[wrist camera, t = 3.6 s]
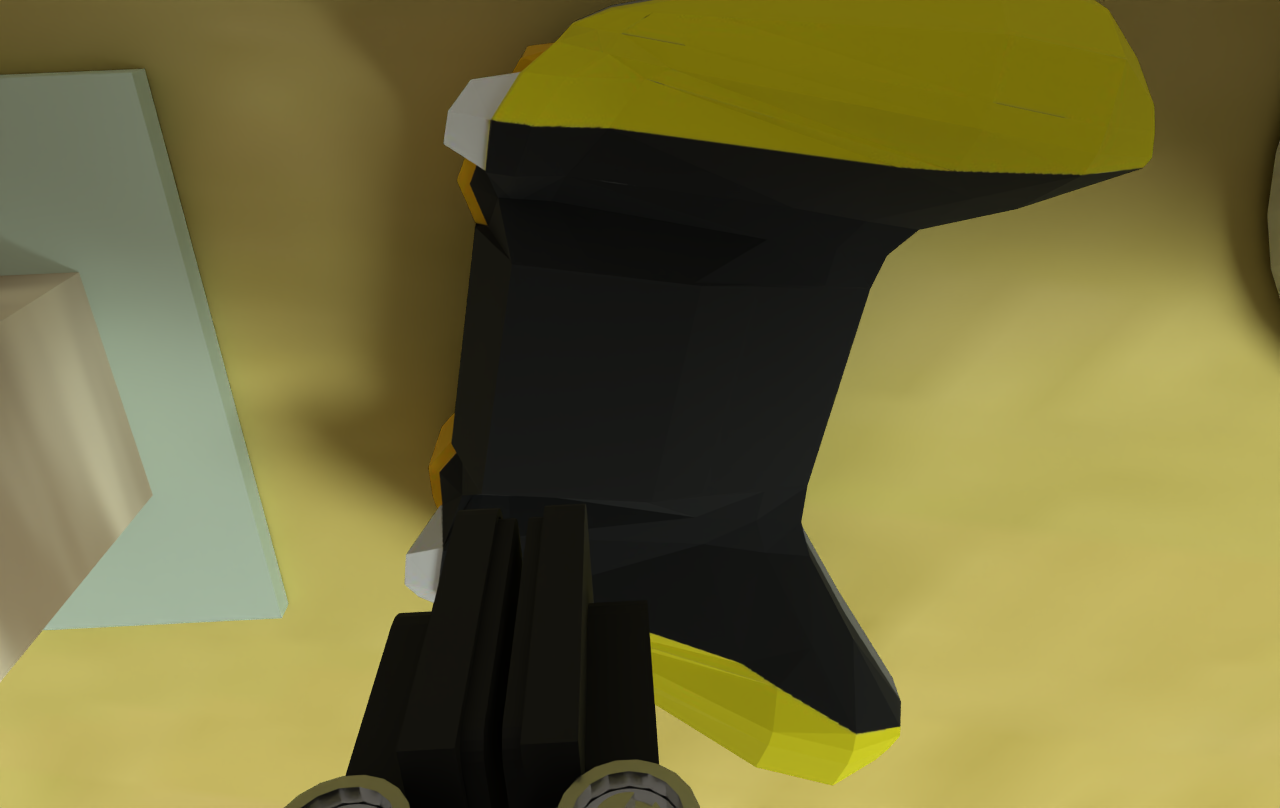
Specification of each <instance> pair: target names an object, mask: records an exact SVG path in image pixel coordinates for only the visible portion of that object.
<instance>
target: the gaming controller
mask: <svg viewBox="0 0 1280 808" xmlns="http://www.w3.org/2000/svg"><path fill="white" fill-rule="evenodd" d="M1154 135H1155V115H1154V103H1153V101H1152V98H1151V95H1150V92H1149V89H1148V87H1147V84H1146V81H1145V78H1144V75H1143V73H1142V70H1141V67H1140V64H1139V62H1138V59H1137V57H1136V55H1135V54H1134V52H1133V50H1132V49H1131V47H1130V45H1129V43H1128V42H1127V40H1126V38H1125V37H1124V35H1123V33H1122V32H1121V30H1120V28H1119V27H1118V25H1117V23H1116V22H1115V20H1114V18H1113V16H1112V15H1111V13H1110V11H1109V10H1108V9H1107V8H1105V7H1104V6H1102V5H1101V4H1100V3H1098V2H1097V1H1095V0H637V1H632V2H627V3H622V4H616V5H611V6H609V7H607V8H604V9H602V10H600V11H597V12H595V13H593V14H591V15H588V16H586V17H584V18H582V19H579V20H577V21H575V22H573V23H572V24H571V26H570V27H569V28H568V29H567V30H566V31H565V32H564V33H563V34H562V35H561V37H560V38H559V39H558V40H557V41H556V42H555V43H548V44H540V45H532V46H527V48H526V50H525V51H524V53H523V55H522V56H521V58H520V60H519V62H518V63H517V65H516V67H515V68H514V70H513V72H512V73H510V74H504V75H497V76H491V77H484V78H477V79H471V80H470V81H469V83H468V84H467V86H466V87H465V88H464V90H463V91H462V92H461V94H460V95H459V97H458V98H457V99H456V101H455V102H454V103H453V105H452V106H451V108H450V109H449V110H448V115H447V122H446V129H445V136H444V143H443V144H444V145H446V146H447V147H449V148H451V149H452V150H454V151H455V152H457V153H458V154H460V155H462V156H463V157H465V158H464V161H463V164H462V167H461V170H460V173H459V175H458V178H457V182H458V184H459V187H460V189H461V191H462V193H463V196H464V198H465V200H466V202H467V205H468V207H469V209H470V212H471V214H472V216H473V218H474V221H475V223H476V227H475V234H474V243H473V252H472V261H471V270H470V279H469V288H468V297H467V306H466V315H465V324H464V333H463V342H462V352H461V361H460V370H459V379H458V388H457V397H456V406H455V413H454V414H453V415H452V416H451V417H450V418H449V419H448V420H447V422H446V423H445V424H444V425H443V426H442V427H441V430H440V433H439V437H438V440H437V443H436V446H435V449H434V452H433V455H432V458H431V461H430V464H429V467H428V469H429V475H430V482H431V488H432V495H433V498H434V501H435V504H436V507H437V511H436V512H435V514H434V515H433V517H432V518H431V519H430V521H429V522H428V524H427V525H426V527H425V528H424V529H423V531H422V532H421V534H420V535H419V537H418V538H417V540H416V541H415V542H414V544H413V545H412V547H411V548H410V550H409V551H408V553H407V554H406V568H405V585H406V586H407V587H408V588H409V589H411V590H412V591H413V592H414V593H415V594H416V595H417V596H419V597H421V598H423V599H426V600H428V601H431V602H433V603H434V600H435V596H436V592H437V588H438V584H439V580H440V576H441V572H442V568H443V564H444V561H445V557H446V553H447V549H448V545H449V541H450V537H451V533H452V529H453V525H454V521H455V517H456V514H457V511H459V510H473V509H492V508H500V509H501V511H502V515H503V519H510V518H516V519H517V521H518V526H519V534H520V542H521V551H522V560H523V557H524V549H525V542H526V534H527V526H528V519H529V518H530V517H543V513H544V507H545V506H550V505H569V504H586V509H587V520H588V533H589V547H590V560H591V573H592V586H593V600H594V603H600V602H618V601H637V600H647V602H648V615H649V629H650V643H651V657H652V671H653V685H654V700H655V705H657V706H659V707H660V708H662V709H663V710H665V711H667V712H668V713H670V714H671V715H673V716H675V717H676V718H678V719H679V720H681V721H683V722H684V723H686V724H688V725H689V726H691V727H692V728H694V729H696V730H697V731H699V732H700V733H702V734H704V735H705V736H707V737H708V738H710V739H712V740H713V741H715V742H716V743H718V744H720V745H721V746H723V747H724V748H726V749H728V750H729V751H731V752H732V753H734V754H736V755H737V756H739V757H740V758H742V759H744V760H745V761H747V762H748V763H750V764H752V765H753V766H755V767H757V768H762V769H766V770H770V771H774V772H778V773H783V774H787V775H791V776H795V777H799V778H803V779H808V780H812V781H816V782H820V783H824V784H829V785H834V784H836V783H838V782H839V781H841V780H843V779H844V778H846V777H848V776H849V775H851V774H853V773H854V772H856V771H857V770H859V769H861V768H862V767H864V766H866V765H867V764H869V763H871V762H872V761H874V760H876V759H877V758H878V757H879V756H880V755H882V754H883V753H884V752H885V751H886V750H888V749H889V747H890V746H891V745H892V744H893V743H894V742H895V741H896V740H897V739H898V737H899V736H900V717H901V701H900V698H899V695H898V692H897V690H896V687H895V684H894V681H893V678H892V676H891V675H890V673H889V671H888V670H887V668H886V667H885V665H884V663H883V662H882V660H881V659H880V657H879V655H878V654H877V652H876V651H875V649H874V647H873V646H872V644H871V642H870V641H869V639H868V638H867V636H866V634H865V633H864V631H863V630H862V628H861V626H860V625H859V623H858V622H857V620H856V618H855V617H854V615H853V614H852V612H851V610H850V609H849V607H848V605H847V604H846V602H845V601H844V599H843V597H842V596H841V594H840V593H839V591H838V589H837V588H836V586H835V584H834V582H833V580H832V579H831V577H830V575H829V573H828V572H827V570H826V568H825V566H824V564H823V563H822V561H821V559H820V557H819V556H818V554H817V552H816V550H815V548H814V547H813V545H812V543H811V541H810V539H809V538H808V536H807V534H806V532H805V531H804V529H803V527H802V523H801V520H802V514H803V508H804V502H805V496H806V491H807V485H808V482H809V479H810V476H811V472H812V469H813V466H814V463H815V460H816V457H817V454H818V451H819V447H820V444H821V441H822V438H823V435H824V432H825V429H826V425H827V422H828V419H829V416H830V413H831V410H832V407H833V404H834V400H835V397H836V394H837V391H838V388H839V385H840V382H841V379H842V375H843V372H844V369H845V366H846V363H847V360H848V357H849V353H850V350H851V347H852V344H853V341H854V338H855V335H856V332H857V328H858V325H859V322H860V319H861V316H862V313H863V310H864V307H865V303H866V300H867V297H868V294H869V291H870V288H871V286H872V284H873V282H874V280H875V278H876V276H877V274H878V272H879V270H880V268H881V266H882V264H883V263H884V261H885V259H886V257H887V255H888V254H889V253H891V252H892V251H893V250H894V249H896V248H897V247H898V246H899V245H901V244H902V243H903V242H904V241H906V240H907V239H908V238H909V237H910V236H912V235H913V234H914V233H915V232H917V231H918V230H920V229H925V228H929V227H934V226H939V225H943V224H948V223H953V222H958V221H962V220H967V219H972V218H976V217H981V216H986V215H991V214H995V213H1000V212H1005V211H1009V210H1014V209H1018V208H1021V207H1024V206H1027V205H1030V204H1033V203H1036V202H1040V201H1043V200H1046V199H1049V198H1052V197H1055V196H1058V195H1061V194H1064V193H1067V192H1070V191H1074V190H1077V189H1080V188H1083V187H1086V186H1089V185H1092V184H1095V183H1098V182H1101V181H1105V180H1108V179H1111V178H1114V177H1117V176H1120V175H1123V174H1126V173H1129V172H1132V171H1135V170H1139V169H1142V168H1143V167H1144V166H1145V165H1146V164H1147V163H1148V162H1149V161H1150V160H1151V158H1152V154H1153V144H1154Z"/></svg>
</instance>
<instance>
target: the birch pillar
mask: <svg viewBox="0 0 1280 808" xmlns="http://www.w3.org/2000/svg"><path fill="white" fill-rule="evenodd" d="M152 496H153V494H152V491H151V488H150V485H149V482H148V479H147V476H146V473H145V470H144V467H143V464H142V461H141V458H140V455H139V452H138V449H137V446H136V443H135V440H134V437H133V434H132V431H131V428H130V425H129V422H128V419H127V415H126V412H125V409H124V406H123V403H122V400H121V397H120V394H119V391H118V388H117V385H116V382H115V379H114V376H113V373H112V370H111V367H110V364H109V361H108V358H107V355H106V352H105V349H104V346H103V343H102V340H101V337H100V334H99V331H98V328H97V325H96V322H95V319H94V316H93V313H92V310H91V307H90V304H89V301H88V298H87V295H86V292H85V289H84V286H83V283H82V280H81V277H80V274H79V272H71V273H49V274H27V275H5V276H0V682H1V680H2V679H3V678H4V677H5V676H6V674H7V673H8V672H9V671H10V669H11V668H12V667H13V666H14V665H15V663H16V662H17V661H18V660H19V658H20V657H21V656H22V655H23V654H24V652H25V651H26V650H27V649H28V647H29V646H30V645H31V644H32V642H33V641H34V640H35V639H36V638H37V636H38V635H39V634H40V633H41V631H42V630H43V629H44V628H45V627H46V625H47V624H48V623H49V622H50V620H51V619H52V618H53V617H54V616H55V614H56V613H57V612H58V611H59V609H60V608H61V607H62V606H63V605H64V603H65V602H66V601H67V600H68V598H69V597H70V596H71V595H72V594H73V592H74V591H75V590H76V589H77V587H78V586H79V585H80V584H81V583H82V581H83V580H84V579H85V578H86V576H87V575H88V574H89V573H90V571H91V570H92V569H93V568H94V567H95V565H96V564H97V563H98V562H99V560H100V559H101V558H102V557H103V556H104V554H105V553H106V552H107V551H108V549H109V548H110V547H111V546H112V545H113V543H114V542H115V541H116V540H117V538H118V537H119V536H120V535H121V534H122V532H123V531H124V530H125V529H126V527H127V526H128V525H129V524H130V523H131V521H132V520H133V519H134V518H135V516H136V515H137V514H138V513H139V511H140V510H141V509H142V508H143V507H144V505H145V504H146V503H147V502H148V500H149V499H150V498H151V497H152Z"/></svg>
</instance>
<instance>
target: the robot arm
mask: <svg viewBox="0 0 1280 808" xmlns="http://www.w3.org/2000/svg"><path fill="white" fill-rule="evenodd" d="M1267 217H1268V232H1269V247H1270V263H1271V271H1272V274H1273V277H1274V281H1275V284H1276V287H1277V290H1278V293H1279V297H1280V142H1279V145H1278V148H1277V151H1276V156H1275V163H1274V170H1273V177H1272V185H1271V192H1270V199H1269V206H1268V213H1267ZM284 808H700V806H699V804H698V802H697V800H696V798H695V796H694V794H693V792H692V790H691V788H690V786H689V785H688V784H686V783H685V782H684V781H683V780H682V779H681V778H680V777H679V776H678V775H677V774H676V773H675V772H673V771H671V770H669V769H667V768H665V767H663V766H661V765H659V756H658V742H657V728H656V714H655V700H654V685H653V671H652V657H651V643H650V629H649V615H648V602H647V600H637V601H618V602H600V603H594V600H593V586H592V573H591V560H590V547H589V533H588V520H587V509H586V504H569V505H550V506H545V507H544V513H543V517H530V518H529V519H528V526H527V534H526V542H525V549H524V557H523V560H522V551H521V542H520V534H519V526H518V521H517V519H516V518H510V519H503V515H502V511H501V509H500V508H492V509H473V510H459V511H457V514H456V517H455V521H454V525H453V529H452V533H451V537H450V541H449V545H448V549H447V553H446V557H445V561H444V564H443V568H442V572H441V576H440V580H439V584H438V588H437V592H436V596H435V600H434V604H433V608H432V612H413V613H399V614H398V615H397V616H396V617H395V619H394V621H393V623H392V626H391V629H390V632H389V635H388V639H387V642H386V645H385V649H384V652H383V655H382V658H381V662H380V665H379V668H378V671H377V675H376V678H375V681H374V684H373V688H372V691H371V694H370V697H369V701H368V704H367V707H366V710H365V714H364V717H363V720H362V723H361V727H360V730H359V733H358V737H357V740H356V743H355V746H354V750H353V753H352V756H351V759H350V763H349V766H348V769H347V772H346V776H342V777H339V778H335V779H332V780H329V781H325V782H322V783H319V784H318V785H316V786H314V787H312V788H310V789H309V790H307V791H305V792H303V793H301V794H300V795H298V796H297V797H296V798H295V799H294V800H292V801H291V802H290V803H289V804H288V805H287V806H285V807H284Z"/></svg>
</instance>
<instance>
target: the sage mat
mask: <svg viewBox="0 0 1280 808" xmlns="http://www.w3.org/2000/svg"><path fill="white" fill-rule="evenodd" d="M71 272H79V274H80V277H81V280H82V283H83V286H84V289H85V292H86V295H87V298H88V301H89V304H90V307H91V310H92V313H93V316H94V319H95V322H96V325H97V328H98V331H99V334H100V337H101V340H102V343H103V346H104V349H105V352H106V355H107V358H108V361H109V364H110V367H111V370H112V373H113V376H114V379H115V382H116V385H117V388H118V391H119V394H120V397H121V400H122V403H123V406H124V409H125V412H126V415H127V419H128V422H129V425H130V428H131V431H132V434H133V437H134V440H135V443H136V446H137V449H138V452H139V455H140V458H141V461H142V464H143V467H144V470H145V473H146V476H147V479H148V482H149V485H150V488H151V491H152V494H153V496H152V497H151V498H150V499H149V500H148V502H147V503H146V504H145V505H144V507H143V508H142V509H141V510H140V511H139V513H138V514H137V515H136V516H135V518H134V519H133V520H132V521H131V523H130V524H129V525H128V526H127V527H126V529H125V530H124V531H123V532H122V534H121V535H120V536H119V537H118V538H117V540H116V541H115V542H114V543H113V545H112V546H111V547H110V548H109V549H108V551H107V552H106V553H105V554H104V556H103V557H102V558H101V559H100V560H99V562H98V563H97V564H96V565H95V567H94V568H93V569H92V570H91V571H90V573H89V574H88V575H87V576H86V578H85V579H84V580H83V581H82V583H81V584H80V585H79V586H78V587H77V589H76V590H75V591H74V592H73V594H72V595H71V596H70V597H69V598H68V600H67V601H66V602H65V603H64V605H63V606H62V607H61V608H60V609H59V611H58V612H57V613H56V614H55V616H54V617H53V618H52V619H51V620H50V622H49V623H48V624H47V625H46V627H45V628H44V629H43V630H57V629H76V628H96V627H116V626H135V625H155V624H175V623H194V622H214V621H234V620H253V619H273V618H282V617H283V615H284V612H285V610H286V608H287V606H288V600H287V597H286V593H285V589H284V585H283V582H282V578H281V574H280V571H279V567H278V563H277V559H276V556H275V552H274V548H273V545H272V541H271V537H270V533H269V530H268V526H267V522H266V519H265V515H264V511H263V507H262V504H261V500H260V496H259V492H258V489H257V485H256V481H255V478H254V474H253V470H252V466H251V463H250V459H249V455H248V452H247V448H246V444H245V440H244V437H243V433H242V429H241V426H240V422H239V418H238V414H237V411H236V407H235V403H234V399H233V396H232V392H231V388H230V385H229V381H228V377H227V373H226V370H225V366H224V362H223V359H222V355H221V351H220V347H219V344H218V340H217V336H216V333H215V329H214V325H213V321H212V318H211V314H210V310H209V306H208V303H207V299H206V295H205V292H204V288H203V284H202V280H201V277H200V273H199V269H198V266H197V262H196V258H195V254H194V251H193V247H192V243H191V240H190V236H189V232H188V228H187V225H186V221H185V217H184V213H183V210H182V206H181V202H180V199H179V195H178V191H177V187H176V184H175V180H174V176H173V173H172V169H171V165H170V161H169V158H168V154H167V150H166V147H165V143H164V139H163V135H162V132H161V128H160V124H159V120H158V117H157V113H156V109H155V106H154V102H153V98H152V94H151V91H150V87H149V83H148V80H147V76H146V72H145V69H128V70H104V71H80V72H57V73H33V74H9V75H0V276H5V275H27V274H49V273H71Z"/></svg>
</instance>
